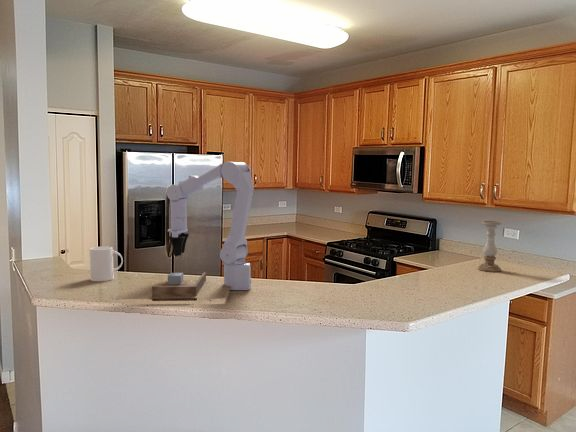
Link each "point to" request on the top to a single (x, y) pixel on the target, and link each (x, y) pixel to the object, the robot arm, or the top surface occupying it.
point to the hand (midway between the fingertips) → (179, 254)
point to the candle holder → (490, 248)
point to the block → (175, 278)
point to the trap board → (178, 290)
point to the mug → (102, 263)
